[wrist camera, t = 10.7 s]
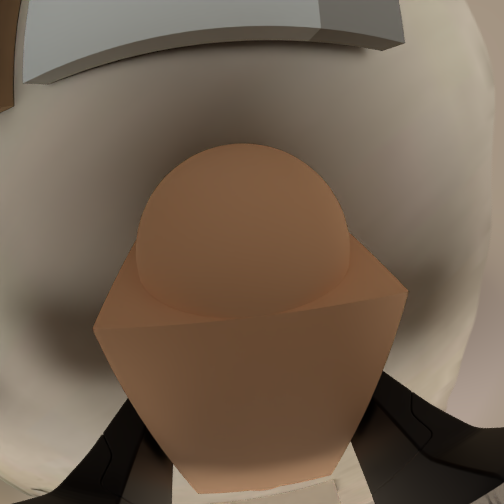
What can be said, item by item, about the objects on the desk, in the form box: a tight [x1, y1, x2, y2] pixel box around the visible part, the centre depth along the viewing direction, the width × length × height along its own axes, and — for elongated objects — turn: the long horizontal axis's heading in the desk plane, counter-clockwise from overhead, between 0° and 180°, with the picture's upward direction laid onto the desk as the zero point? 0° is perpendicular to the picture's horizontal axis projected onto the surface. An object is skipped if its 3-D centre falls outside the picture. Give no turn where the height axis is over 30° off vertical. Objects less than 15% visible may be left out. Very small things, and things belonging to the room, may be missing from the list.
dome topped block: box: [92, 144, 409, 494], centre depth 8 cm, size 5×13×4 cm, turn 3°
